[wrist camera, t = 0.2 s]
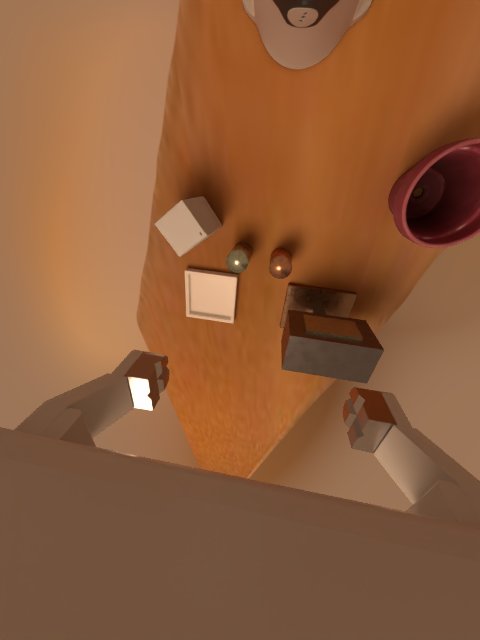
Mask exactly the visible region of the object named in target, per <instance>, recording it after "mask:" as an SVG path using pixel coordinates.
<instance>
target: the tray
mask: <svg viewBox="0 0 480 640" xmlns="http://www.w3.org/2000/svg"><path fill="white" fill-rule="evenodd" d="M237 285H238V274H230V273H223V272H215V271H208V270H200V269H193V268H187V269H186V270H185V290H186V316H188V317H195V318H201V319H208V320H214V321H221V322H227V323H233V322H234V319H235V308H236V297H237Z"/></svg>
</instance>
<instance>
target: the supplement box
mask: <svg viewBox="0 0 480 640" xmlns="http://www.w3.org/2000/svg"><path fill="white" fill-rule="evenodd" d="M155 225H156V227H157V228H158V229H159V230H160V232H161V233H162V234H163V236H164V237H165V238H166V240H167V241H168V242H169V244H170V245H171V246H172V248H173V249H174V250H175V252H176V253H177V255H178V256H179V257H180V256H182V255H184V254H185V253H187V252H188V251H189V250H191V249H192V248H194V247H195V246H196V245H198V244H199V243H201V242H202V241H203V240H205V239H206V238H208V237H209V236H210V235H212V234H213V233H214V232H215V231H217V230H218V229H219V228H220V227H222V226H223V225H222V224H221V222H220V221H219V219H218V217H217V216H216V214H215V213H214V211H213V210H212V208H211V207H210V205H209V204H208V202H207V201H206V199H205V198H204V196H201V197H195V198H190V199H184V200H181V201H180V202H178V203H177V204H176V205H175V206H174V207H173V208H172V209H170V210H169V211H168V212H167V213H166V214H165V215H164V216H163V217H161V218H160V219H159V220H158V221H157V222H156V223H155Z"/></svg>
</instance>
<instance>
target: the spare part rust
mask: <svg viewBox="0 0 480 640" xmlns="http://www.w3.org/2000/svg"><path fill="white" fill-rule="evenodd" d="M269 269H270V273H271V274H272V276H274V277H275V278H278V279H282V278H285V277H287V276H288V275H289V274H290V273H291V270H292V264H291V257H290V253H289V251H288V250H287V249H285V248H277V249H275V250H274V251H273V252H272V254H271V259H270V267H269Z"/></svg>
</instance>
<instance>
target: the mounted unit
mask: <svg viewBox="0 0 480 640" xmlns="http://www.w3.org/2000/svg"><path fill="white" fill-rule="evenodd" d="M356 297H357V294H356V292H349V291H342V290H334V289H327V288H320V287H312V286H305V285H297V284H290V283H288V288H287V293H286V298H285V302H284V307H283V312H282V317H281V322H280V328H284V330H283V335H282V340H281V344H282V369H283V370H289V371H295V372H301V373H307V374H313V375H319V376H325V377H331V378H337V379H343V380H349V381H356V382H361V383H367V382H368V380H369V378H370V376H371V374H372V372H373V371H374V369H375V367H376V365H377V362H378V361H379V359H380V357H381V355H382V353H383V351H384V349H383V348H382V346H381V344H380V343H379V341H378V339H377V338H376V336H375V335H374V333H373V331H372V330H371V328H370V327H369V325H368V324H367V322H366V320H359V319H352V318H349V315H350V313H351V310H352V307H353V305H354V302H355V300H356Z"/></svg>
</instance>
